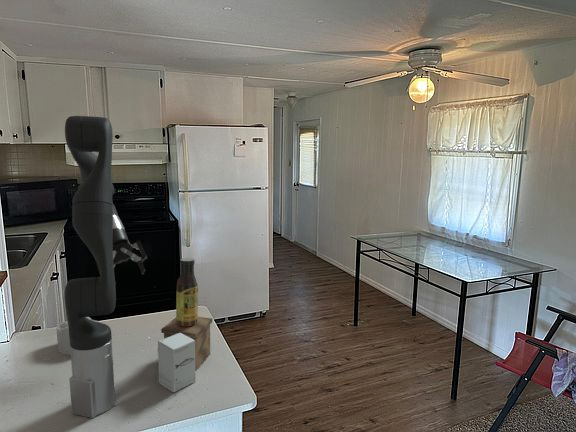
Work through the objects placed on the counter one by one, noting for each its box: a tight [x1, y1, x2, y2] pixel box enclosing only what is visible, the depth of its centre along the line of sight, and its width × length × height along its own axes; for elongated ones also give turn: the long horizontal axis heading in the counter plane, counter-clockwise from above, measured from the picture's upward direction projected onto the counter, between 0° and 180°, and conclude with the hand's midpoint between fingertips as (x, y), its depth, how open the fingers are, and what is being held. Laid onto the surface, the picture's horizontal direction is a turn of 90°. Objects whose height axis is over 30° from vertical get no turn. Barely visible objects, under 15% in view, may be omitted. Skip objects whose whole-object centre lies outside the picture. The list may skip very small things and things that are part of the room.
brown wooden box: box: [160, 316, 213, 372], centre depth 124 cm, size 11×11×12 cm
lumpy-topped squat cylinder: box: [56, 317, 100, 356], centre depth 131 cm, size 10×13×9 cm
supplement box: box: [157, 333, 196, 394], centre depth 113 cm, size 7×7×13 cm
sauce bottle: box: [175, 257, 199, 327], centre depth 122 cm, size 6×6×20 cm
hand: (128, 278), depth 124 cm, fingers open, 8 cm apart
